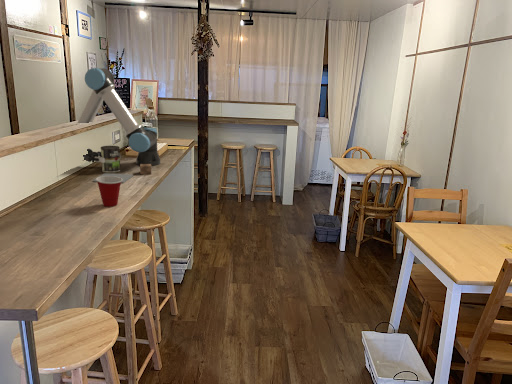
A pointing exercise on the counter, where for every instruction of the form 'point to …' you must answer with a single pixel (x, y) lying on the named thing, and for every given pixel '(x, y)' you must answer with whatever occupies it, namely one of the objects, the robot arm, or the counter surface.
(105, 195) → the plastic cup
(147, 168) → the walnut block
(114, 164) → the coffee can
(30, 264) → the counter surface
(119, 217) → the counter surface
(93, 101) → the robot arm
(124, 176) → the mat
